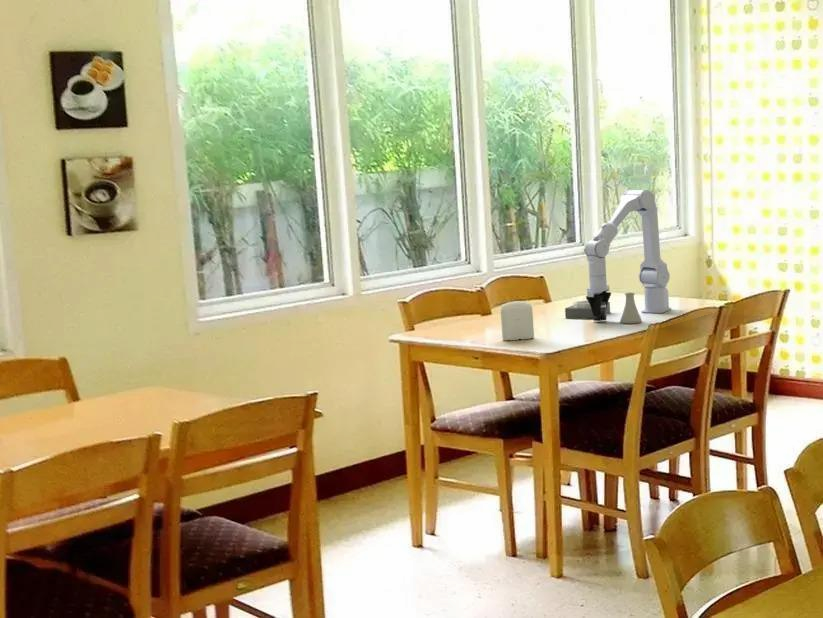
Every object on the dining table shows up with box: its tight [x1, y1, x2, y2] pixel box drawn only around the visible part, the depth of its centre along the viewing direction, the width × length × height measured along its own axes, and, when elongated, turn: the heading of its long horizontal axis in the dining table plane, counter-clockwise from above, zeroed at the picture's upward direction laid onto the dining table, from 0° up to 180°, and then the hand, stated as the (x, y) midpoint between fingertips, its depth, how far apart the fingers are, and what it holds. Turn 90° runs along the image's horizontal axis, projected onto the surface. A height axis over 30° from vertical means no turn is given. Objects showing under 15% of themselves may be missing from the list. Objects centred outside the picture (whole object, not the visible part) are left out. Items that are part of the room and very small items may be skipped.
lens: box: [592, 301, 608, 322], centre depth 415 cm, size 5×5×6 cm
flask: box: [619, 292, 642, 325], centre depth 410 cm, size 7×7×10 cm
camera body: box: [564, 300, 611, 320], centre depth 432 cm, size 14×11×5 cm
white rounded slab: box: [500, 300, 535, 341], centre depth 392 cm, size 10×4×12 cm, turn 91°
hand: (599, 314), depth 416 cm, fingers closed on lens, 5 cm apart
